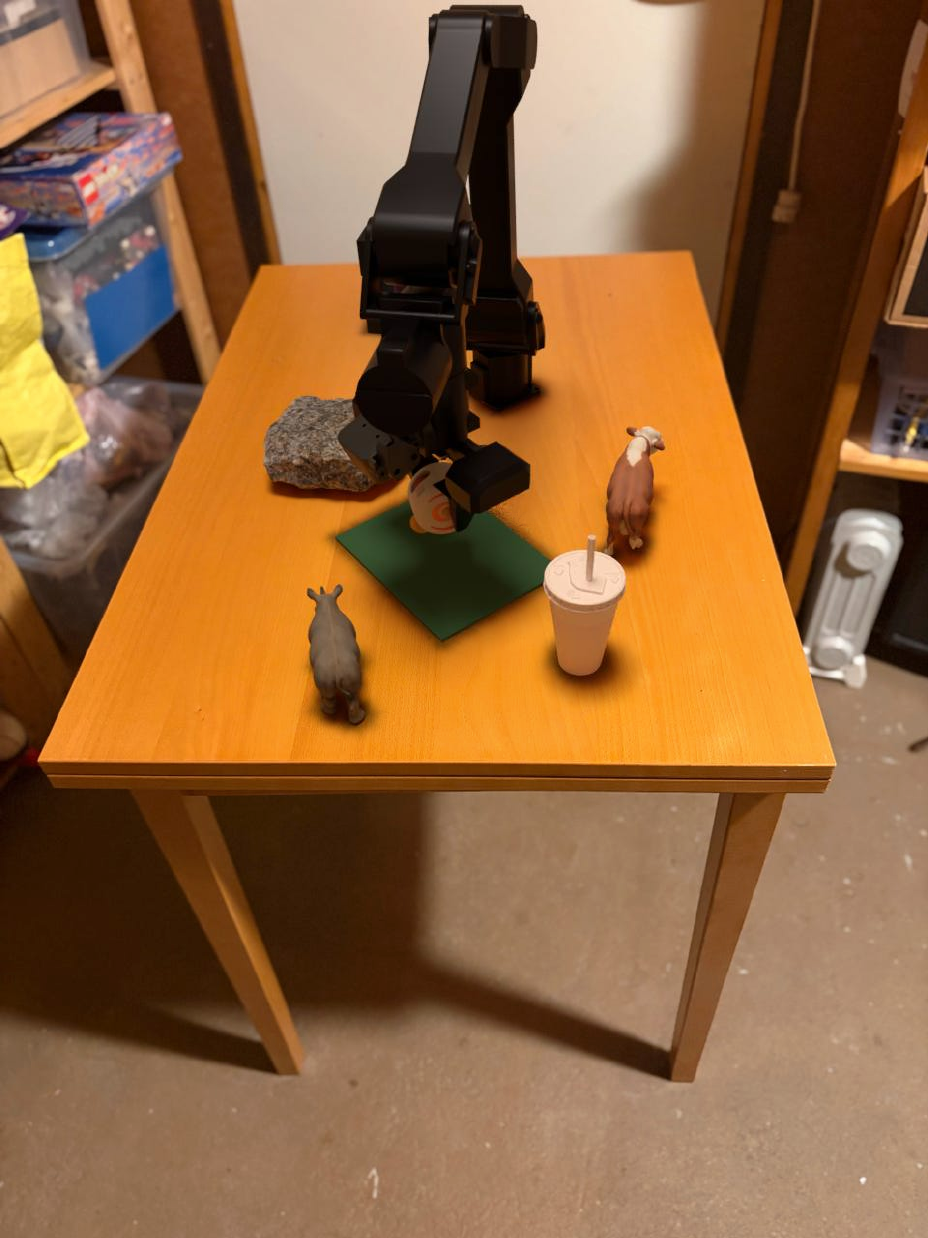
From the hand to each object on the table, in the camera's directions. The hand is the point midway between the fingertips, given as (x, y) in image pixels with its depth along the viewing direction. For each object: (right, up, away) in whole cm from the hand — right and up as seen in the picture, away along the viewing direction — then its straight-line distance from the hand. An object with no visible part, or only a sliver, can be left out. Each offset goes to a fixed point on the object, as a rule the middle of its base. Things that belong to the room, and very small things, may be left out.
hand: (443, 514), depth 85 cm
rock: (-11, +7, +15) cm, 20 cm away
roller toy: (0, -1, +1) cm, 1 cm away
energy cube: (-3, +31, +38) cm, 49 cm away
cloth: (0, -4, +3) cm, 5 cm away
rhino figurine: (-9, -14, -6) cm, 17 cm away
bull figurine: (+18, 0, +6) cm, 19 cm away
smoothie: (+12, -13, -7) cm, 19 cm away
